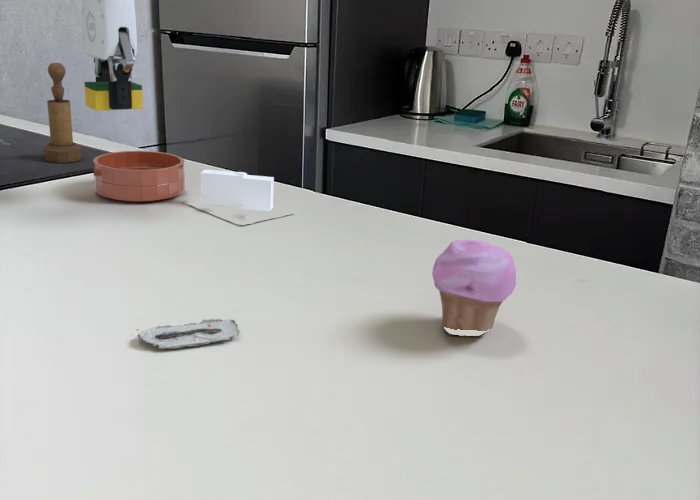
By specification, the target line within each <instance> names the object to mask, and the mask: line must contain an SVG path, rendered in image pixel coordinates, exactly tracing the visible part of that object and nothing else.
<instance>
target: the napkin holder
mask: <svg viewBox="0 0 700 500" xmlns="http://www.w3.org/2000/svg"><path fill="white" fill-rule="evenodd" d="M274 183H275V177H274V176H265V175H253V174H252V175H251V174H248V173H247V172H244V171H227V170H215V169H203V170H202V171H201V172H200V200H201V205H207V206H208V205H209V206H219V207H221V206H222V207H238V209H242V210H253V211H255V210H256V211H271V209H272V208H273V206H274V186H275V185H274ZM187 204H188V203H187Z"/></svg>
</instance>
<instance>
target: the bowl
mask: <svg viewBox="0 0 700 500" xmlns="http://www.w3.org/2000/svg"><path fill="white" fill-rule="evenodd" d="M92 170H93V171H92V172H93V188H94V191H95V193H96V194H97V195H99V196H101V197H104V198H108V199H112V200H116V201H122V202H131V203H133V202H134V203H135V202H136V203H142V202H143V201H144V202H143V203H145V201H147V202H156V201H162V200H166V199H171V198H175V197H177V196H178V197H179V196H180V195H181V194H183V193H184V192H185V187H186V185H185V178H186V177H185V160H184V158H182V157H181V156H179V155H176V154H173V153H169V152H162V151H153V150H123V151H114V152H107V153H103V154H100V155H98V156H95V157H94V158H93V160H92ZM161 199H162V200H161ZM155 200H156V201H155ZM141 201H142V202H141Z"/></svg>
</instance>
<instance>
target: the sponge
mask: <svg viewBox="0 0 700 500" xmlns="http://www.w3.org/2000/svg"><path fill="white" fill-rule="evenodd" d="M131 90H132V108H131V109H130V110H143V108H144V106H143V105H144V104H143V85H142V84H138V83H136V82H133V81H131ZM84 96H85V97H84V98H85V99H84V100H85V106H86V107H88V108H90V109H92V110H94V111H96V112H97V111H113V110H112V109H110V107H109V89H108V82H96V81H84ZM121 110H124V111H127V110H128V109H118V110H117V111H121Z"/></svg>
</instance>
